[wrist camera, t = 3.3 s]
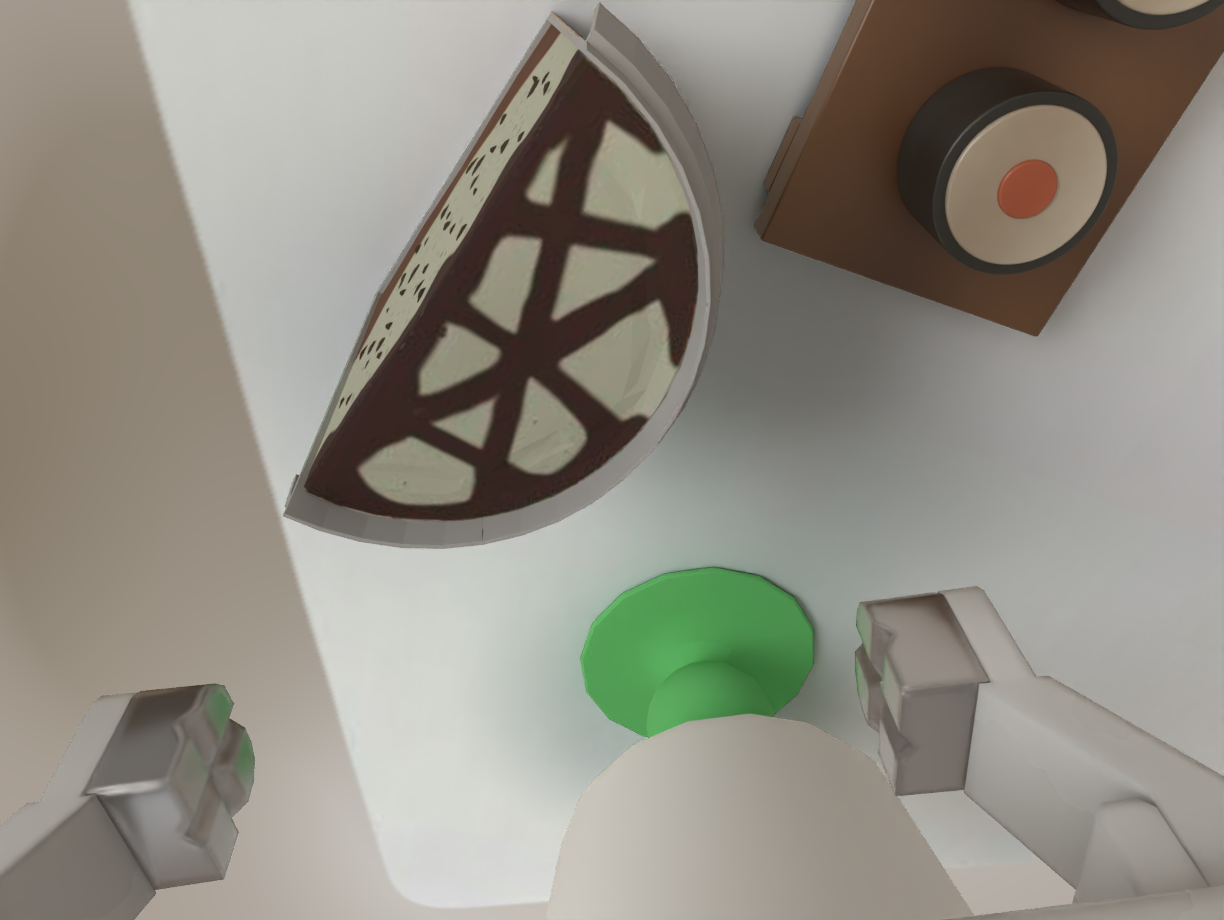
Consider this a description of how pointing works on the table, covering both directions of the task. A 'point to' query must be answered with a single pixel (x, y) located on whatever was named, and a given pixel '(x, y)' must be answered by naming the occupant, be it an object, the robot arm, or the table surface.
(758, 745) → the cup
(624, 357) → the food container
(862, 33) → the sushi board
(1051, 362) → the table surface
